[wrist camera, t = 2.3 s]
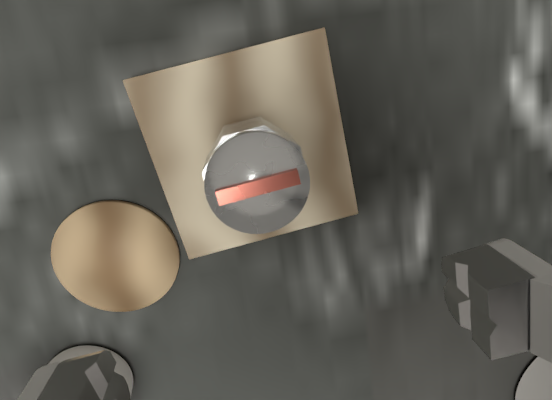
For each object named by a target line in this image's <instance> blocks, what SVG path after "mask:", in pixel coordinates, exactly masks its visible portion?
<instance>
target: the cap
mask: <svg viewBox="0 0 552 400" xmlns="http://www.w3.org/2000/svg"><path fill="white" fill-rule="evenodd" d="M202 175H203V178H204V189H205V195H206V199H207V202H208V204H209V206H210V208H211V210H212V211H213V213H214V214H215V215H216V217H217V218H218V219H219V220H221V221H222V222H223V223H224V224H226V225H227V226H229V227H230V228H232V229H235V230H237V231H240V232H243V233H249V234H265V233H269V232H273V231H276V230H278V229H280V228H283V227H284V226H286V225H287V224H289V223H290V222H291V221H293V220H294V219H295V218H296V217H297V216H298V214H299V213H300V212H301V210H302V209H303V207H304V205H305V203H306V201H307V198H308V195H309V190H310V175H309V170H308V167H307V164H306V162H305V160H304V158H303V156H302V151H301V147H300V146H299V144H298V143H297V142H296V141H295V140H294V139H293V137H292V136H291V135H290V134H288V133H287V132H285V131H283V130H282V129H280V128H278V127H277V126H275V125H273V124H272V123H270V122H268V121H267V120H265V119H263V118H262V117H255V118H251V119H247V120H244V121H240V122H236V123H232V124H228V125H225V126H224V127H223V129H222V130H221V132H220V134H219V136H218V138H217V139H216V141H215V143H214V145H213V147H212V148H211V150H210V152H209V154H208V156H207V158H206V161H205V164H204V168H203V171H202Z"/></svg>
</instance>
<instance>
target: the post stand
mask: <svg viewBox="0 0 552 400" xmlns="http://www.w3.org/2000/svg"><path fill="white" fill-rule="evenodd" d="M123 83H124V86H125V88H126V91H127V94H128V96H129V99H130V102H131V104H132V107H133V110H134V113H135V115H136V118H137V121H138V123H139V126H140V129H141V131H142V134H143V137H144V139H145V142H146V145H147V147H148V150H149V153H150V155H151V158H152V161H153V163H154V166H155V169H156V172H157V174H158V177H159V180H160V182H161V185H162V188H163V190H164V193H165V196H166V198H167V201H168V204H169V206H170V209H171V212H172V214H173V217H174V220H175V222H176V225H177V228H178V231H179V233H180V236H181V239H182V241H183V244H184V247H185V249H186V252H187V255H188V257H189V259H193V258H196V257H200V256H204V255H207V254H211V253H215V252H218V251H222V250H226V249H230V248H233V247H237V246H241V245H244V244H248V243H252V242H255V241H259V240H263V239H267V238H270V237H274V236H278V235H281V234H285V233H289V232H292V231H296V230H300V229H303V228H307V227H311V226H315V225H318V224H322V223H326V222H329V221H333V220H337V219H340V218H344V217H348V216H351V215H355V214H358V208H357V203H356V197H355V192H354V186H353V181H352V175H351V170H350V164H349V159H348V153H347V148H346V142H345V136H344V131H343V125H342V120H341V114H340V109H339V103H338V98H337V92H336V87H335V81H334V76H333V70H332V65H331V59H330V54H329V48H328V43H327V37H326V32H325V27H324V28H320V29H316V30H313V31H309V32H305V33H301V34H297V35H293V36H290V37H286V38H282V39H278V40H274V41H271V42H267V43H263V44H259V45H255V46H251V47H248V48H244V49H240V50H236V51H232V52H229V53H225V54H221V55H217V56H213V57H209V58H206V59H202V60H198V61H194V62H190V63H187V64H183V65H179V66H175V67H171V68H167V69H164V70H160V71H156V72H152V73H148V74H144V75H141V76H137V77H133V78H129V79H125V80H123ZM255 117H262V118H263V119H265V120H267V121H268V122H270V123H272V124H273V125H275V126H277V127H278V128H280V129H282V130H283V131H285V132H287V133H288V134H290V135H291V136H292V137H293V139H294V140H295V141H296V142H297V143H298V144H299V146H300V147H301V151H302V156H303V158H304V160H305V162H306V164H307V167H308V170H309V175H310V190H309V195H308V198H307V201H306V203H305V205H304V207H303V209H302V210H301V212H300V213H299V214H298V216H297V217H296V218H295V219H294V220H293V221H291V222H290V223H289V224H287V225H286V226H284V227H283V228H280V229H278V230H276V231H273V232H269V233H265V234H249V233H243V232H240V231H237V230H235V229H232V228H230V227H229V226H227V225H226V224H224V223H223V222H222V221H221V220H219V219H218V218H217V217H216V215H215V214H214V213H213V211H212V210H211V208H210V206H209V204H208V202H207V199H206V195H205V189H204V178H203V175H202V171H203V168H204V164H205V161H206V158H207V156H208V154H209V152H210V150H211V148H212V147H213V145H214V143H215V141H216V139H217V138H218V136H219V134H220V132H221V130H222V129H223V127H224V126H225V125H228V124H232V123H236V122H240V121H244V120H247V119H251V118H255Z"/></svg>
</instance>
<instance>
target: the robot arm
mask: <svg viewBox="0 0 552 400" xmlns="http://www.w3.org/2000/svg"><path fill="white" fill-rule="evenodd" d="M441 267H442V273H443V274H444V275H445V276H446V277H447V278H448V281H447V282H446V284H445V286H444V295H445V301H446V303H447V306H448V309H449V311H450V313H451V314H452V316H453V318H454V319H455V320H456V321H457V322H458V324H459V325H460V326H462V327H464V328H467V329H470V330H471V331H472V340H473V341H474V342H475V343H476V344H477V345H478V346H479V347H480V349H481V350H482V351H483V352H484V353H485V354H486V355H487V356H488V357H489V359H490V360H491V361H492V360H496V359H499V358H503V357H507V356H511V355H515V354H519V353H523V352H527V351H530V353H532V354H534V355H536V356H538V357H537V358H536V359H535V360H534V361H533V362H532V363H531V365H530V366H529V367H528V368H527V370H526V371H525V373H524V374H523V376H522V378H521V380H520V382H519V384H518V387H517V391H516V396H515V400H552V265H550V264H549V263H547V262H545V261H544V260H542V259H541V258H539V257H537V256H536V255H534V254H532V253H531V252H529V251H527V250H526V249H524V248H523V247H521V246H519V245H518V244H516V243H514V242H513V241H511V240H510V239H504V238H502V239H499V240H496V241H493V242H490V243H486V244H483V245H482V246H478V247H475V248H471V249H468V250H464V251H461V252H457V253H454V254H451V255H447V256H444V257H442V261H441ZM116 363H117V362H116V361H115V359H114V357H113V355H112V354H111V352H110V351H107V350H102V351H98V352H94V353H90V354H86V355H82V356H78V357H74V358H71V359H67V360H64V361H59V362H55V363H52V364H48V365H45V366H42V367H40V368H39V369H37V370H36V371H35V373H34V374H33V376H32V377H31V379H30V381H29V382H28V384H27V385H26V387H25V388H24V390H23V391H22V393H21V394H20V396H19V397H18V399H17V400H130V391H129V387H128V384H127V382H126V380H125V378H124V377H123V376H122V375H120V374H118V373H116V372H114V369H115V366H116Z"/></svg>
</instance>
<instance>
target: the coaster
mask: <svg viewBox="0 0 552 400" xmlns="http://www.w3.org/2000/svg"><path fill="white" fill-rule="evenodd" d="M51 260H52V265H53V268H54V271H55V273H56V275H57V277H58V279H59V281H60V282H61V284H62V285H63V286H64V287H65V288H66V289H67V290H68V291H69V292H70V293H71V294H72V295H73V296H74V297H76V298H77V299H79V300H80V301H82V302H84V303H85V304H88V305H90V306H92V307H95V308H98V309H102V310H106V311H114V312H126V311H133V310H138V309H141V308H144V307H147V306H149V305H151V304H153V303H154V302H156V301H158V300H159V299H160V298H161V297H163V296H164V295H165V294H166V293H167V292H168V290H169V289H170V288H171V286H172V285H173V283H174V281H175V279H176V275H177V272H178V269H179V263H180V254H179V247H178V244H177V241H176V239H175V236H174V234H173V233H172V231H171V230H170V228H169V227H168V226H167V224H166V223H165V222H164V221H163V220H162V219H161V218H160V217H159V216H157V215H156V214H155V213H153V212H152V211H150V210H148V209H146V208H145V207H142V206H140V205H137V204H134V203H131V202H127V201H120V200H104V201H98V202H94V203H91V204H88V205H85V206H83V207H81V208H79V209H78V210H76V211H75V212H73V213H72V214H71V215H70V216H69V217H67V218H66V219H65V220H64V221H63V222H62V224H61V225H60V226H59V228H58V229H57V231H56V233H55V235H54V238H53V241H52V246H51Z"/></svg>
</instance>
